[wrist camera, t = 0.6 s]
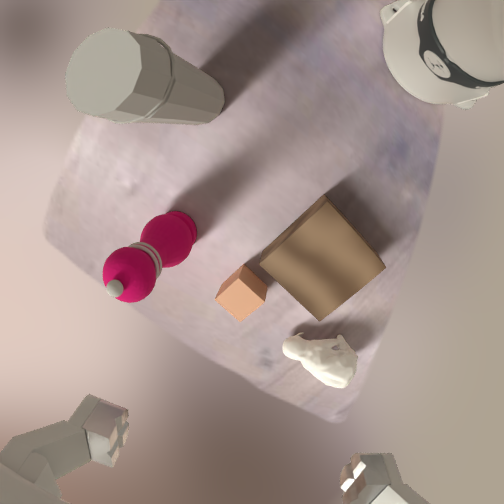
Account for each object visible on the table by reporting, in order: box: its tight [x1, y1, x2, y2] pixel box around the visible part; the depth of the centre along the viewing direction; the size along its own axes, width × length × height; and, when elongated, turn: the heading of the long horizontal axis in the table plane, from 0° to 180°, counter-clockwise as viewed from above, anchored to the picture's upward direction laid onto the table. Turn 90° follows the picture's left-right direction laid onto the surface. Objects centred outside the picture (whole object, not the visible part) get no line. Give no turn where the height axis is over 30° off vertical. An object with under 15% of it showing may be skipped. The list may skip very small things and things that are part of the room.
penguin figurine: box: [283, 332, 358, 388], centre depth 48 cm, size 6×8×12 cm
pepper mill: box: [103, 211, 197, 303], centre depth 38 cm, size 7×7×20 cm
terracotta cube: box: [215, 264, 268, 322], centre depth 47 cm, size 5×5×5 cm
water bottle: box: [65, 28, 225, 125], centre depth 28 cm, size 9×8×25 cm
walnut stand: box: [259, 195, 386, 321], centre depth 44 cm, size 12×12×5 cm
